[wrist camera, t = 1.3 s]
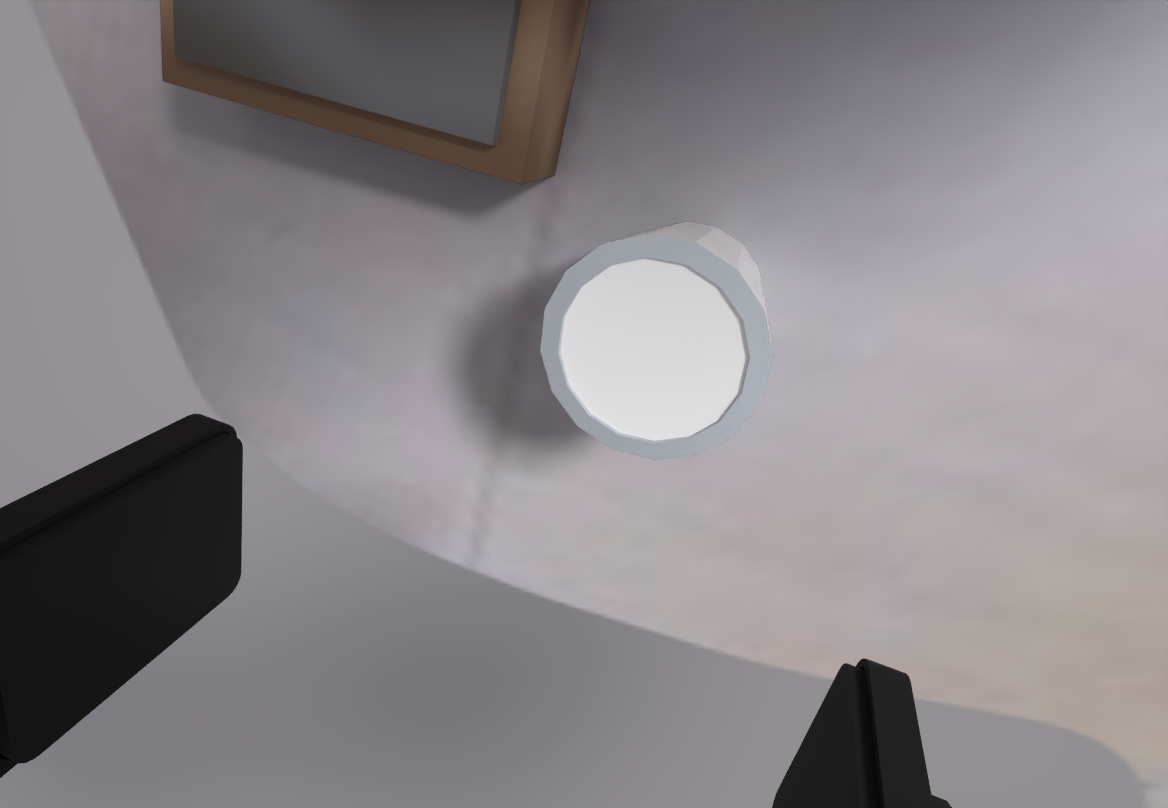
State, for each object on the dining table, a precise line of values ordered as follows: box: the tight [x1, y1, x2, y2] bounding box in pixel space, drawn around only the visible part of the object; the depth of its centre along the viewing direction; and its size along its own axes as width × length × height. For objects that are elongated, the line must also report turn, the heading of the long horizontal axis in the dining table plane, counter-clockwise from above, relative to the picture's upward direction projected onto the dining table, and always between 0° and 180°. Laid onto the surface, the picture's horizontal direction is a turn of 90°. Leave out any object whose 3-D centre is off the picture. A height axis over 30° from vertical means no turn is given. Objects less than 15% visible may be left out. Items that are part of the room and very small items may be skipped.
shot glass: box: [540, 222, 773, 460], centre depth 24 cm, size 7×7×7 cm
